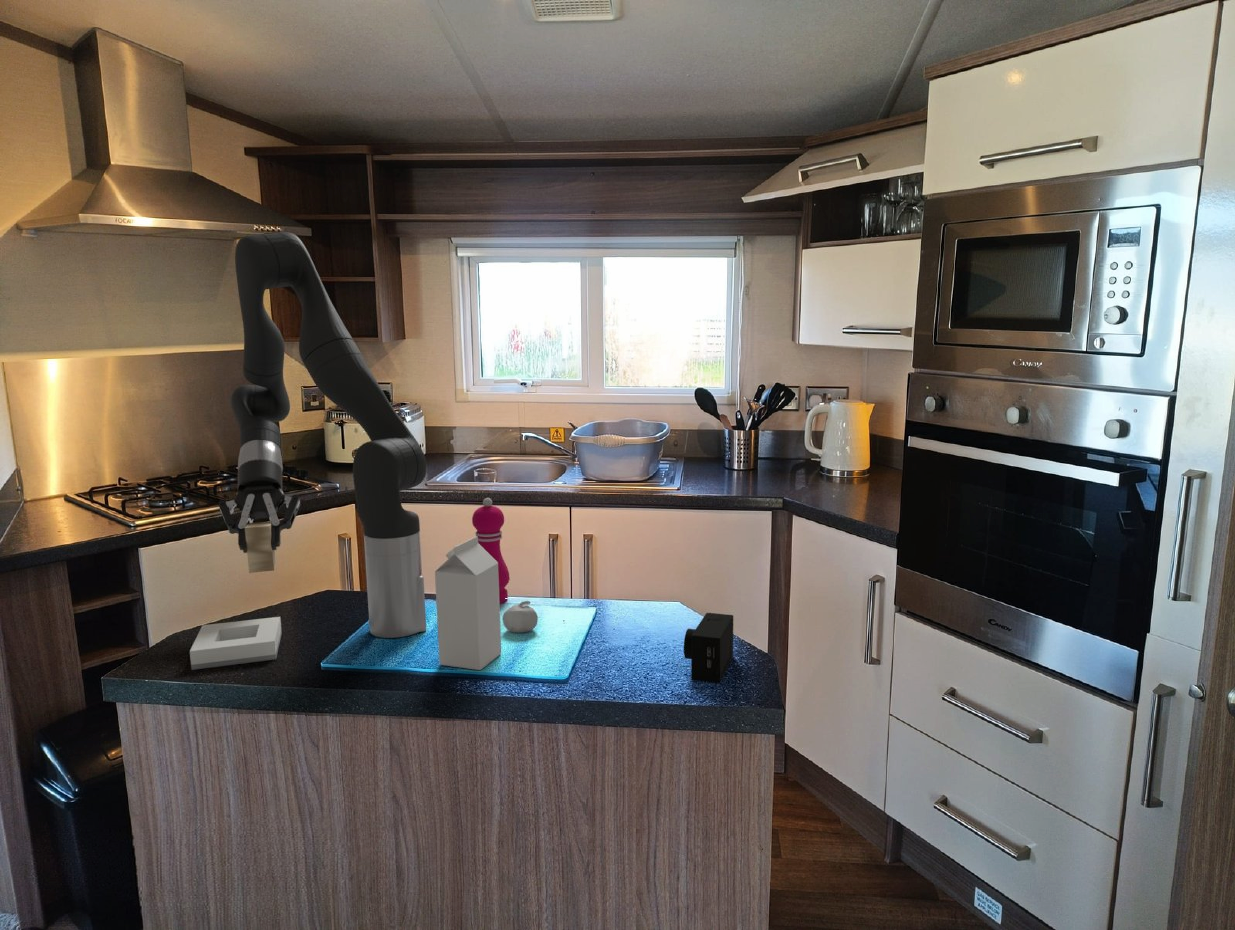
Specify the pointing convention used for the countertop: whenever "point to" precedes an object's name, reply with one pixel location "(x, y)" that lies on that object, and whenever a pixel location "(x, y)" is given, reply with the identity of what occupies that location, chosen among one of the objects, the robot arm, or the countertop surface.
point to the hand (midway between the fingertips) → (259, 548)
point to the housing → (236, 643)
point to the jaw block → (259, 547)
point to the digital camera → (710, 647)
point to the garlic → (520, 618)
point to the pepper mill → (492, 539)
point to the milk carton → (468, 607)
